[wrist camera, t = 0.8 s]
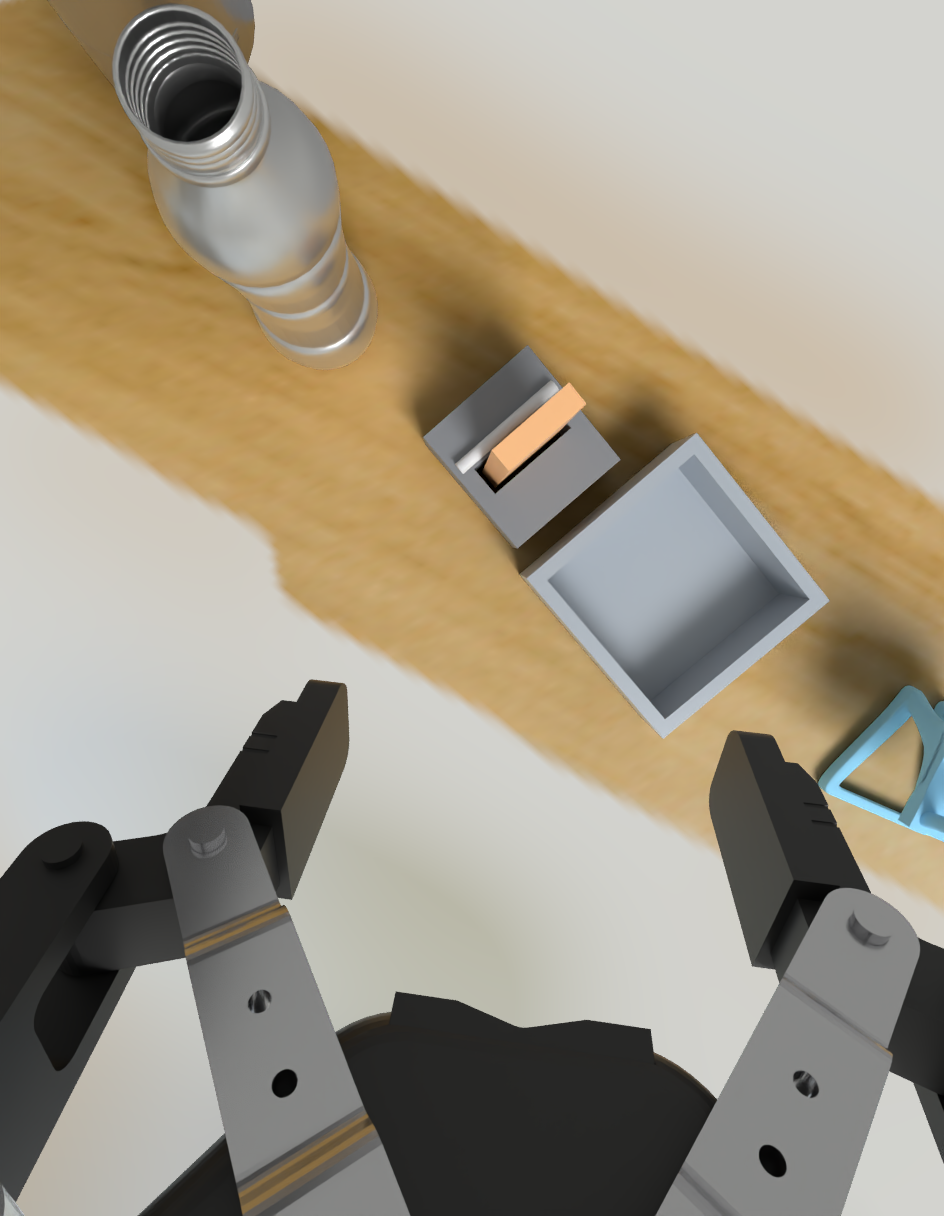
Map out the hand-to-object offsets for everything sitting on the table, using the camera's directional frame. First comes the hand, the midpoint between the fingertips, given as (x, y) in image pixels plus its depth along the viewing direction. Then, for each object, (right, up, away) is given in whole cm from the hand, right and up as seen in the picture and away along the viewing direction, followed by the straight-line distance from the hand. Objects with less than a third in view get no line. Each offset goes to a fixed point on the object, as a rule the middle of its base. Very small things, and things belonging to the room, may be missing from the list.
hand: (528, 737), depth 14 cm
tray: (+10, +4, +26) cm, 28 cm away
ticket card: (+1, +12, +25) cm, 28 cm away
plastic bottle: (-10, +19, +24) cm, 32 cm away
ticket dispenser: (+1, +12, +25) cm, 28 cm away
